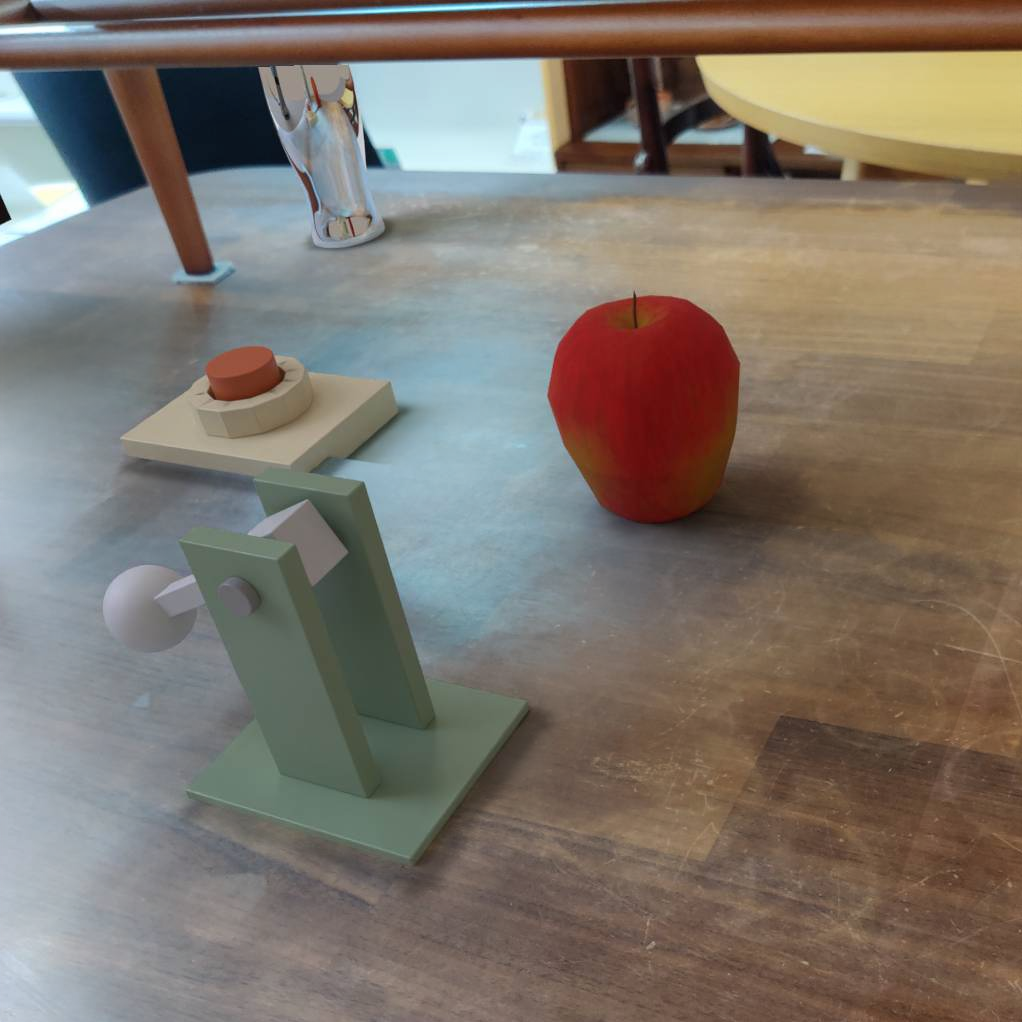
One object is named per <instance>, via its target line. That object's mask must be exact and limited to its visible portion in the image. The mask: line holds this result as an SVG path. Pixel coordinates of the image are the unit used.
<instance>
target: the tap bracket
mask: <svg viewBox="0 0 1022 1022" xmlns="http://www.w3.org/2000/svg"><path fill="white" fill-rule="evenodd" d="M252 481H253V485H254V487H255V489H256V493H257V496H258V498H259V501H260V504H261V506H262V509H263V511H264V514H265V518H267V517H269V516H272V515H274V514H276V513H278V512H280V511H283V510H285V509H287V508H289V507H291V506H294V505H296V504H298V503H300V502H302V501H305V500H307V499H308V500H310V502H311V503H312V504H313V506H314V507H315V508H316V510H317V511H318V512H319V514H320V515H321V516H322V518H323V519H324V520H325V522H326V523H327V524H328V526H329V527H330V528H331V529H332V531H333V532H334V533H335V535H336V536H337V537H338V539H339V540H340V541H341V543H342V544H343V545H344V547H345V548H346V549H347V551H348V554H347V555H346V556H345V557H344V558H343V559H342V560H341V561H340V562H339V563H338V564H337V565H335V566H334V567H333V568H332V569H331V570H330V571H329V572H328V573H327V574H326V575H325V576H324V577H323V578H322V579H321V580H320V581H319V582H318V583H317V584H316V585H315V586H314V587H312V588H311V585H310V582H309V579H308V577H307V574H306V571H305V568H304V565H303V563H302V560H301V557H300V554H299V552H298V549H297V546H296V544H294V543H288V542H283V541H278V540H273V539H267V538H262V537H257V536H251V535H246V534H247V533H241V532H240V533H239V532H234V531H231V530H230V531H229V530H224V529H219V528H213V527H209V526H203V525H195V526H194V527H193V528H191V529H190V530H189V531H188V532H187V533H186V534H184V535H183V536H182V537H181V538H179V540H178V544H179V545H180V548H181V550H182V553H183V555H184V557H185V560H186V561H187V565H188V566H189V568H190V570H191V573H192V574H193V575H194V578H195V580H196V582H197V584H198V587H199V589H200V591H201V594H202V596H203V598H204V601H205V603H206V604H205V605H206V607H207V610H208V612H209V614H210V616H211V619H212V621H213V623H214V626H215V628H216V630H217V632H218V635H219V637H220V639H221V641H222V644H223V647H224V649H225V651H226V653H227V656H228V658H229V660H230V662H231V665H232V667H233V669H234V672H235V674H236V677H237V679H238V682H239V683H240V686H241V688H242V691H243V692H244V695H245V697H246V700H247V701H248V704H249V706H250V708H251V711H252V713H253V716H254V718H253V719H252V720H251V721H250V722H249V723H248V724H247V725H246V726H245V727H244V728H243V730H242V731H240V733H238V735H237V736H236V737H235V738H233V740H232V741H231V742H230V743H229V744H228V745H226V747H225V748H224V749H223V750H222V751H221V752H220V753H219V754H218V755H217V756H216V757H215V759H213V760H212V761H211V762H210V764H208V765H207V767H206V768H204V770H203V771H202V772H201V773H200V774H198V776H197V777H196V778H195V779H194V780H193V781H192V782H191V783H190V784H189V785H188V786H187V788H186V789H185V793H186V795H187V797H188V798H189V799H192V800H195V801H198V802H202V803H205V804H207V805H211V806H215V807H218V808H222V809H225V810H227V811H231V812H235V813H237V814H241V815H244V816H247V817H250V818H254V819H258V820H261V821H264V822H267V823H270V824H273V825H276V826H280V827H283V828H287V829H290V830H293V831H296V832H298V833H299V832H300V833H303V834H306V835H310V836H312V837H316V838H319V839H323V840H326V841H328V842H332V843H334V844H339V845H341V846H345V847H348V848H352V849H355V850H358V851H361V852H365V853H368V854H371V855H374V856H378V857H381V858H384V859H387V860H390V861H394V862H397V863H399V864H403V865H407V866H410V867H414V866H415V865H416V864H417V862H418V861H419V860H420V859H421V857H422V856H423V855H424V854H425V852H426V850H427V849H428V848H429V846H430V845H431V844H432V842H433V841H434V839H435V838H436V837H437V836H438V834H439V833H440V832H441V830H442V829H443V827H444V826H445V825H446V823H447V822H448V820H449V819H450V817H451V816H452V815H453V814H454V812H455V811H456V810H457V808H458V807H459V806H460V804H461V803H462V801H463V800H464V799H465V797H466V796H467V794H468V793H469V792H470V791H471V789H472V788H473V787H474V785H475V784H476V783H477V781H479V778H480V777H481V776H482V774H483V773H484V772H485V770H486V769H487V767H488V766H489V765H490V764H491V762H492V761H493V760H494V758H495V757H496V755H497V754H498V752H499V751H500V750H501V749H502V747H503V746H504V745H505V743H506V742H507V741H508V739H509V738H510V736H511V735H512V734H513V732H514V731H515V729H516V728H517V727H518V726H519V724H520V723H521V721H522V720H523V718H524V717H525V716H526V715H527V713H528V712H529V711H530V703H529V702H528V700H525V699H521V698H517V697H513V696H508V695H503V694H500V693H496V692H490V691H487V690H482V689H478V688H473V687H469V686H464V685H462V684H456V683H452V682H447V681H442V680H439V679H435V678H430V677H425V676H424V672H423V669H422V666H421V663H420V659H419V655H418V653H417V649H416V646H415V643H414V639H413V636H412V633H411V630H410V626H409V623H408V620H407V617H406V614H405V611H404V607H403V603H402V600H401V597H400V593H399V590H398V587H397V584H396V581H395V577H394V574H393V572H392V568H391V563H390V561H389V559H388V555H387V551H386V548H385V545H384V542H383V539H382V536H381V531H380V529H379V525H378V522H377V518H376V516H375V513H374V509H373V505H372V502H371V498H370V496H369V493H368V490H367V486H366V483H365V482H364V481H363V480H357V479H352V478H345V477H339V476H332V475H327V474H321V473H313V472H310V473H307V472H301V471H295V470H288V469H282V468H276V467H267V468H266V469H265V470H264V471H263V472H261V473H260V474H259V475H258V476H256V477H255V476H254V478H253V479H252Z"/></svg>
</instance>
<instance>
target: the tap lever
mask: <svg viewBox="0 0 1022 1022" xmlns="http://www.w3.org/2000/svg"><path fill="white" fill-rule="evenodd" d="M245 534H246V535H251V536H257V537H262V538H267V539H273V540H278V541H283V542H288V543H294V544H296V546H297V549H298V552H299V554H300V557H301V560H302V563H303V565H304V568H305V571H306V574H307V577H308V579H309V582H310V585H311V588H312V587H314V586H315V585H316V584H317V583H318V582H319V581H320V580H321V579H322V578H323V577H324V576H325V575H326V574H327V573H328V572H329V571H330V570H331V569H332V568H333V567H334V566H335V565H337V564H338V563H339V562H340V561H341V560H342V559H343V558H344V557H345V556H346V555H347V554H348V551H347V549H346V548H345V547H344V545H343V544H342V543H341V541H340V540H339V539H338V537H337V536H336V535H335V533H334V532H333V531H332V529H331V528H330V527H329V526H328V524H327V523H326V522H325V520H324V519H323V518H322V516H321V515H320V514H319V512H318V511H317V510H316V508H315V507H314V506H313V504H312V503H311V502H310V500H308V499H307V500H305V501H302V502H300V503H298V504H296V505H294V506H291V507H289V508H287V509H285V510H283V511H280V512H278V513H276V514H274V515H272V516H269V517H265V518H263V519H262V520H261V521H260V522H259V523H257V524H256V526H254V527H253V528H252V529H251V530H250V531H249V532H247V533H245ZM203 605H206V603H205V601H204V598H203V596H202V594H201V591H200V589H199V587H198V584H197V582H196V580H195V578H194V575H193V573H192V574H190V575H188V576H185V577H183V576H182V575H181V574H179V573H178V572H176V571H174V570H172V569H170V568H168V567H165V566H161V565H155V564H143V565H139V566H138V565H137V566H134V567H131V568H128V569H127V570H124V571H123V572H121V573H120V574H119V575H117V576H116V577H115V578H114V579H113V580H112V582H111V583H110V584H109V586H108V587H107V589H106V591H105V594H104V597H103V600H102V616H103V620H104V623H105V625H106V628H107V629H108V632H109V633H110V634H111V635H112V636H113V638H114V639H115V640H117V642H119V644H121V645H123V646H125V647H126V648H128V649H131V650H133V651H136V652H140V653H141V652H142V653H146V654H147V653H149V654H150V653H151V654H153V653H160V652H161V653H162V652H164V651H165V652H166V651H168V650H170V649H173V648H174V647H176V646H178V645H179V644H181V643H182V642H183V641H184V640H185V639H187V637H188V636H189V635H190V634H191V632H192V630H193V628H194V627H195V623H196V622H197V617H198V608H199V607H201V606H203Z"/></svg>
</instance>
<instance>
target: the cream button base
mask: <svg viewBox="0 0 1022 1022" xmlns="http://www.w3.org/2000/svg"><path fill="white" fill-rule="evenodd" d="M274 357H275V360H276V363H277V366H278V369H279V372H280V375H281V378H282V381H281V383H280V384H278V385H277V386H276V387H274V388H273V389H272V390H271V391H269V392H266V393H263V394H261V395H258V396H256V397H253V398H250V399H244V400H237V401H231V402H229V401H221V400H217V399H216V398H215V395H214V393H213V390H212V387H211V385H210V382H209V380H208V377H207V374H206V373H205V375H203V376H201V377H200V378H199V379H197V380H196V381H194V382H193V383H192V385H191V387H190V388H188V389H186V390H185V391H184V392H183V393H181V394H180V395H179V396H177V397H176V398H174V399H173V400H172V401H170V402H169V403H167V404H165V406H163V407H162V408H160V409H158V410H156V412H154V413H152V414H151V415H150V416H149V417H147V418H145V419H144V420H143V421H142V422H140V423H139V424H138V425H136V426H134V427H133V428H132V429H130V430H129V431H127V432H126V433H124V434H122V435H121V436H119V440H120V442H121V445H122V447H123V449H124V451H125V454H126V456H127V457H133V458H139V459H145V460H150V461H151V460H152V461H158V462H163V463H170V464H176V465H181V466H188V467H194V468H201V469H205V470H206V469H207V470H211V471H219V472H224V473H231V474H238V475H243V476H249V477H254V478H255V477H256V476H258V475H259V474H260V473H261V472H263V471H264V470H265V469H266V468H267V467H276V468H282V469H288V470H295V471H301V472H307V473H312V471H313V470H314V469H316V468H317V467H318V466H319V465H321V463H322V462H324V461H325V460H326V459H328V457H332V458H337V459H343V460H344V459H345V460H346V459H347V458H348V457H349V456H350V455H352V454H353V453H354V452H355V451H356V450H357V449H358V448H359V447H361V446H362V445H363V444H364V443H365V442H366V441H368V440H369V439H370V438H371V437H372V436H373V435H375V434H376V433H377V432H378V431H379V430H380V429H381V428H382V427H384V426H385V425H386V424H387V423H388V422H390V420H392V419H393V418H394V417H395V416H397V414H398V413H399V409H398V404H397V400H396V397H395V392H394V390H393V386H392V383H391V381H390V380H382V379H374V378H365V377H357V376H350V375H349V376H348V375H340V374H331V373H323V372H315V371H308V369H307V367H306V366H305V365H304V364H303V363H302V362H300V361H299V360H298V359H297V358H296V357H293V356H285V355H284V356H283V355H277V354H276V355H275V354H274Z"/></svg>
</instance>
